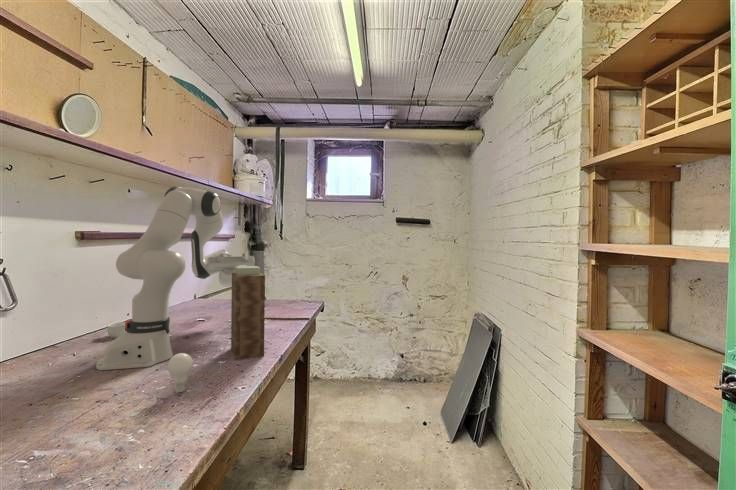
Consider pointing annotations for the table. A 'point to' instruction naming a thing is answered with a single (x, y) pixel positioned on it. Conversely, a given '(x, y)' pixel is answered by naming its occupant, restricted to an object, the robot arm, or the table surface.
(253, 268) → the pale green stepped block
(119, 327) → the teacup
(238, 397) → the table surface
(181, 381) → the lightbulb
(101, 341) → the table surface
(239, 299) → the upright wooden block
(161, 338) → the robot arm
